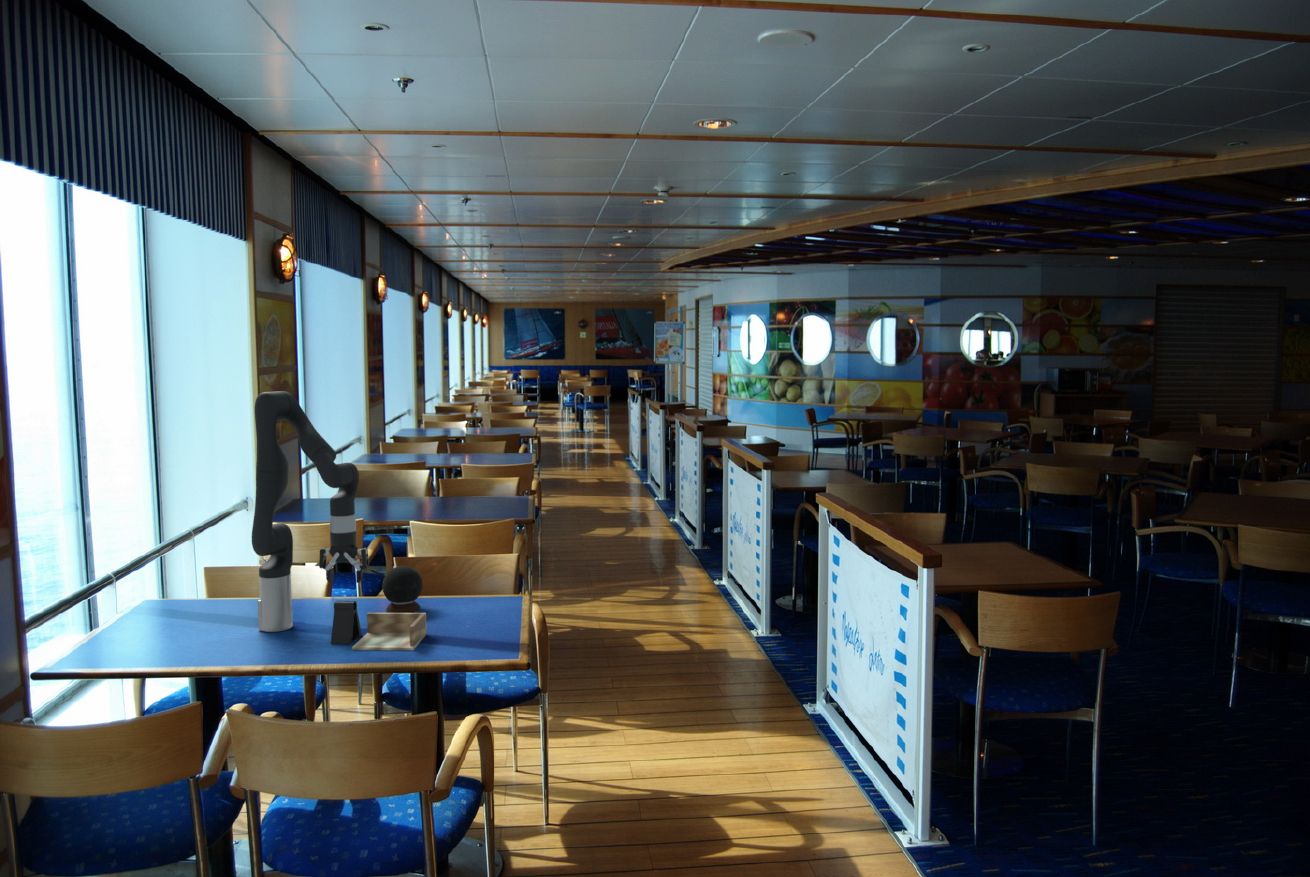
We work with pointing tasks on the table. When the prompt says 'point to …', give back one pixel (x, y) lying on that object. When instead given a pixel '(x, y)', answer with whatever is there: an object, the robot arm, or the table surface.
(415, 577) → the stone ball on stand
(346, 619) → the phone stand
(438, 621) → the table surface
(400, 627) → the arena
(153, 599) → the table surface
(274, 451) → the robot arm
